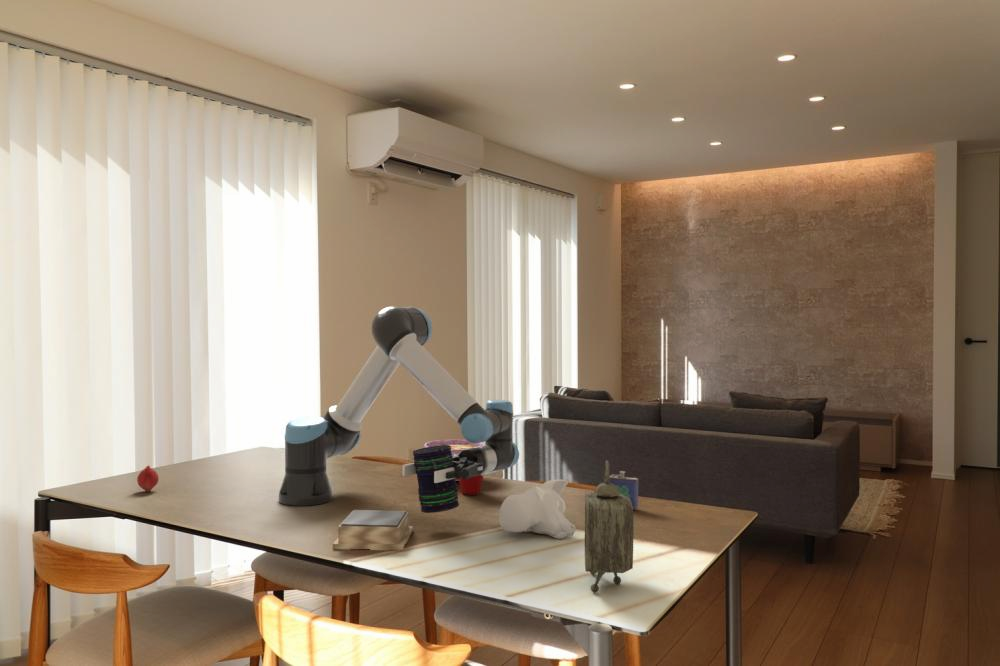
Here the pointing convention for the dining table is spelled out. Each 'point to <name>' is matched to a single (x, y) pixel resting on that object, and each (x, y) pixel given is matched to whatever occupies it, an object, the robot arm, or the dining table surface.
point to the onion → (147, 478)
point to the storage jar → (431, 493)
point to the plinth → (374, 530)
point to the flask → (626, 487)
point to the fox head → (537, 511)
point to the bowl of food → (454, 446)
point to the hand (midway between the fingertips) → (419, 473)
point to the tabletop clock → (608, 531)
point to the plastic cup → (471, 484)
